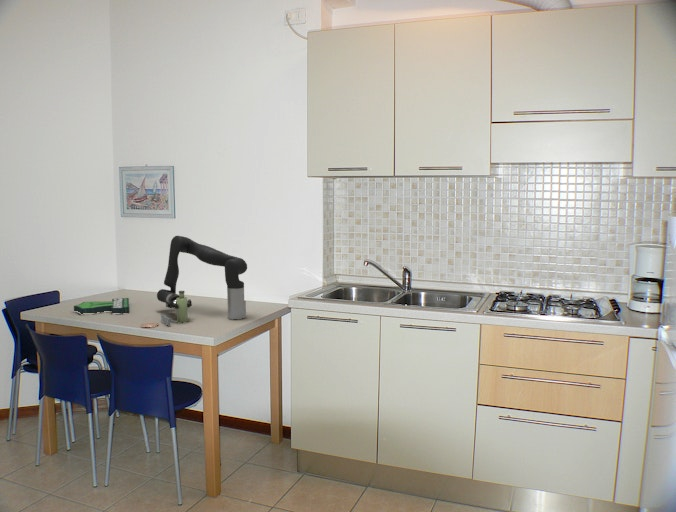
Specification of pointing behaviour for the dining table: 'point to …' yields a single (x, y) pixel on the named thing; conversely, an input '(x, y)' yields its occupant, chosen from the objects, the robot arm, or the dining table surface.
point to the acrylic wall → (165, 319)
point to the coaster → (149, 325)
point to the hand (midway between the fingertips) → (183, 306)
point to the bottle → (182, 308)
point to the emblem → (104, 306)
